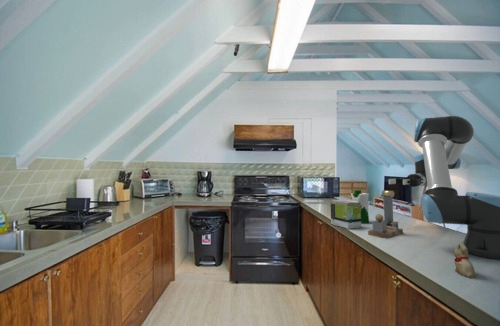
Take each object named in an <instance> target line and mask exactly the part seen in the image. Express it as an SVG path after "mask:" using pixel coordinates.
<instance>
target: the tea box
mask: <svg viewBox="0 0 500 326" xmlns="http://www.w3.org/2000/svg"><path fill="white" fill-rule="evenodd" d="M330 224H331V225H333V226H338V227H341V228H344V229H347V230H350V229H359V228H362V224H361V204H360V202H357V201H352V200H349V199H348V200H347V199H333V200H330Z"/></svg>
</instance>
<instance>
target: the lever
mask: <svg viewBox="0 0 500 326" xmlns="http://www.w3.org/2000/svg"><path fill="white" fill-rule="evenodd" d="M381 196H382V197H383V213H384V214H383V220H384V221H385V222H387V223H388V224H392V222H394V207H393V206H394V203H393V198H394V197H395V191H394V190H382V191H381Z"/></svg>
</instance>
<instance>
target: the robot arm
mask: <svg viewBox="0 0 500 326" xmlns="http://www.w3.org/2000/svg"><path fill="white" fill-rule="evenodd" d="M473 136H474V126H473V124H471V122H470V121H468V119H466V118H464V117H461V116H459V115H450V116H449V115H448V116H438V117H424V118H418V119H417V120H416V121H415V126H414V135H413V142H414V143H418V147H419V148H422V153H417V154H415V157H414V169H415V171H414V173H412V174H411V173H410V174H408V175H407V176H405V177H401V178H399V177H398V178H389V179H388V185H396V184H402V185H403V186H405V185H408V186H409V187H412V188H419V187H423V186H427V189H425V190H424V192H423V194H421V196H420V204H421V209H422V213H423V216H424V218H425V220H426V221H427V222H429V223H433V224H434V223H435V224H443V225H444V224H448V225H450V224H451V225H462V226H463V225H465V226H467V230H466V231H467V232H466V234H465V237H464V239H463V241H462V242H463V243H464V245H465V246H466V248H467V249H468V254H471V255H474V256H478V257H482V258H487V259H488V258H489V259H497V260H500V195H495V194H491V193H490V194H489V193H482V192H474V191H472V192H471V191H467V192H466V193H465V195H459V193H458V190H457V189H456V188H454V187H453V185H452V180H451V175H450V170H456V169H460V167H461V164H462V163H461V158H460V156H461V154H462V152H463V150H464V149H465V146H466V144H468V143H469V142H470V141H471V140H472V139H473Z"/></svg>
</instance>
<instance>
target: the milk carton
mask: <svg viewBox="0 0 500 326" xmlns="http://www.w3.org/2000/svg"><path fill="white" fill-rule="evenodd" d="M350 196H351V201H357V202H360V204H361V225H362V224H367V223H368V224H369V223H370V218H369V217H370V215H369V196H370V193H363V192H362V190H360V189H356V190H355V189H354V191H353V193H350Z"/></svg>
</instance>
